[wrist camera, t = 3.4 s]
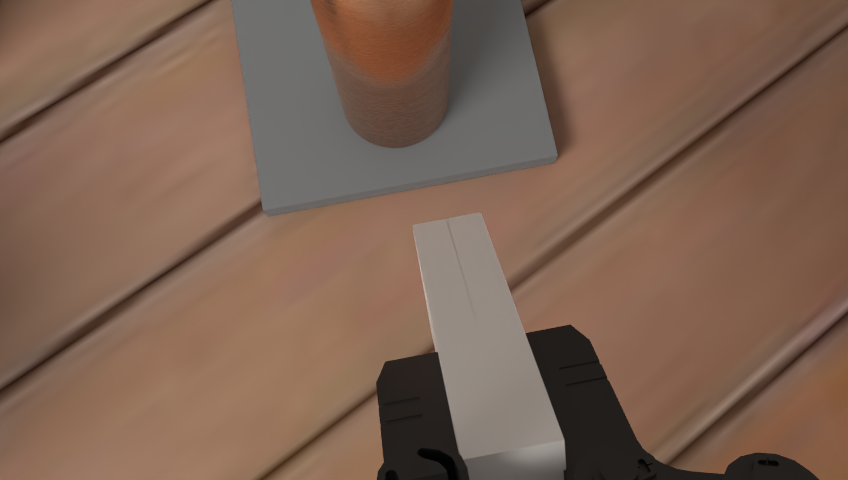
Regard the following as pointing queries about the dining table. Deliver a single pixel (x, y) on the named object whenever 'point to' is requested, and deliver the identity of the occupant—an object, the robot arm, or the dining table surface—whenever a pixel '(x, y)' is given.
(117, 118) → the dining table surface
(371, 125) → the slip tube
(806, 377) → the dining table surface
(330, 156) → the slate base board
